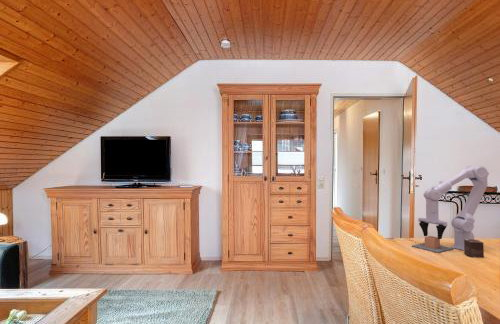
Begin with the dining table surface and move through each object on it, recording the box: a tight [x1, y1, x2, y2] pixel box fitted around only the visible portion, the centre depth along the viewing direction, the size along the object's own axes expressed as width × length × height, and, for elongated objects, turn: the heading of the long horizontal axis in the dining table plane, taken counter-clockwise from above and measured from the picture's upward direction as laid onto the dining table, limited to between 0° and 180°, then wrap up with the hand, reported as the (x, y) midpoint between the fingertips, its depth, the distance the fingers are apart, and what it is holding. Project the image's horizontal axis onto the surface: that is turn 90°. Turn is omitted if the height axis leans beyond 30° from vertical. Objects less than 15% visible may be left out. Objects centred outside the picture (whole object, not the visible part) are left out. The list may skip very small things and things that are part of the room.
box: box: [463, 239, 485, 258], centre depth 153 cm, size 6×6×7 cm
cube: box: [424, 235, 441, 249], centre depth 167 cm, size 5×5×5 cm
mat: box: [411, 242, 455, 254], centre depth 167 cm, size 14×14×1 cm
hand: (432, 237), depth 167 cm, fingers open, 7 cm apart
